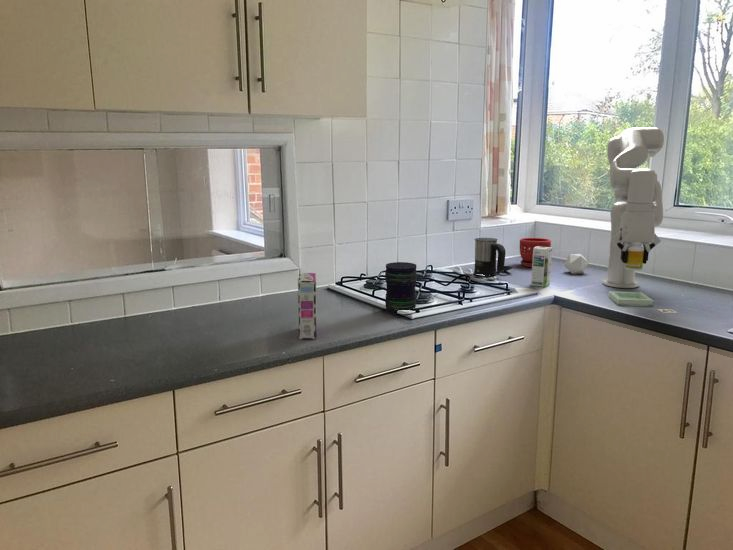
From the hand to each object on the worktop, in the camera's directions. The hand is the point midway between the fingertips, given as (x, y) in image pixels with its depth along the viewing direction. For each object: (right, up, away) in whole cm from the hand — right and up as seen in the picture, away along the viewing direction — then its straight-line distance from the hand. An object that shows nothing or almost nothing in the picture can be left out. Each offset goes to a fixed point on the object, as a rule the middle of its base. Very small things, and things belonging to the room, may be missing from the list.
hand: (633, 262), depth 190 cm
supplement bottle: (0, -2, 0) cm, 2 cm away
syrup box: (-23, -8, +27) cm, 36 cm away
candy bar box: (-105, -21, -30) cm, 111 cm away
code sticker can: (+7, -16, -9) cm, 19 cm away
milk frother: (-36, -4, +46) cm, 59 cm away
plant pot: (-15, 0, +62) cm, 64 cm away
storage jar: (-78, -16, -7) cm, 80 cm away
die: (-2, -4, +48) cm, 48 cm away
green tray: (0, -13, +3) cm, 14 cm away
